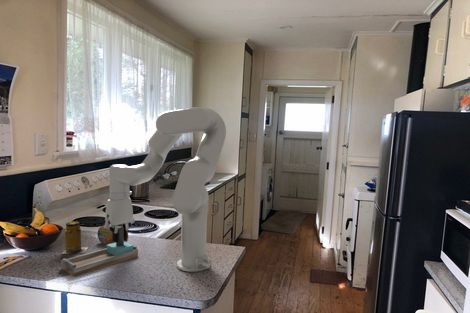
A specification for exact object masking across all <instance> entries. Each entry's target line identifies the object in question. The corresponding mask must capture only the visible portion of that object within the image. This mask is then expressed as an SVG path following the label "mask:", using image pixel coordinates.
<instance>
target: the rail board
mask: <svg viewBox="0 0 470 313" xmlns="http://www.w3.org/2000/svg"><path fill="white" fill-rule="evenodd" d="M132 245H133V250H131V251H128V252H125V253H121V254H118V255H115V256H114V255H112V254H110V253H108V252H107V247H106V248H103V249H99V250H95V251H91V252H88V253H83V254H81V255H77V256H74V257H69V258H62V260H60V262H61V263H60V265H61V269H62V270H63V271H65V272H66V273H67V274H70V275H71V276H73V277H74V278H75V277H78V276H81V275H84V274H87V273H90V272H94V271H96V270H100V269H103V268H106V267H109V266H112V265H116V264H119V263H122V262H125V261H128V260H131V259H134V258H137V257H139V249H138V248H137V247H138V246H136V245H134V244H132Z"/></svg>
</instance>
